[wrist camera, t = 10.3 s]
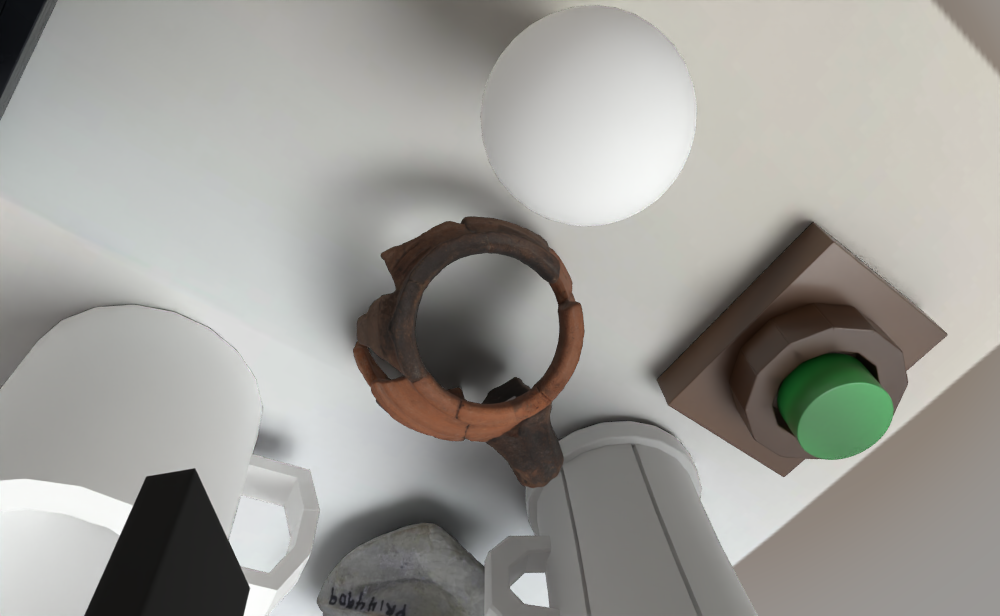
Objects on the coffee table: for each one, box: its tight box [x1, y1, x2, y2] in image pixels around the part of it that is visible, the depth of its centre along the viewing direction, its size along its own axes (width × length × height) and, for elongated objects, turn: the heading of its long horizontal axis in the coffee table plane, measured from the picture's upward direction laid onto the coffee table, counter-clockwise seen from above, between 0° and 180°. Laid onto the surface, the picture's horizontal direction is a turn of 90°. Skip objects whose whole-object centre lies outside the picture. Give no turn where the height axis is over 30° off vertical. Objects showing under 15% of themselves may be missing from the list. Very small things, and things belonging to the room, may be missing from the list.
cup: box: [484, 421, 758, 616], centre depth 35 cm, size 10×9×12 cm
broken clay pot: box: [353, 217, 584, 488], centre depth 33 cm, size 12×10×8 cm
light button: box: [777, 353, 893, 460], centre depth 33 cm, size 4×4×2 cm
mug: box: [0, 305, 320, 616], centre depth 31 cm, size 14×10×11 cm
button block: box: [657, 222, 947, 477], centre depth 35 cm, size 10×8×4 cm
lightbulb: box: [480, 5, 697, 226], centre depth 25 cm, size 6×6×11 cm
